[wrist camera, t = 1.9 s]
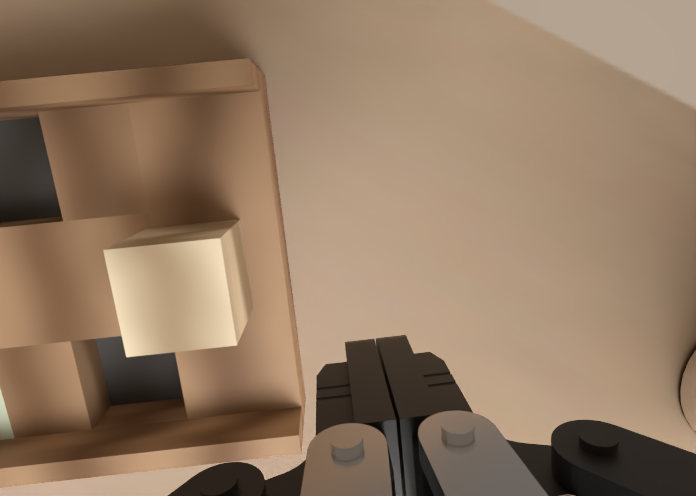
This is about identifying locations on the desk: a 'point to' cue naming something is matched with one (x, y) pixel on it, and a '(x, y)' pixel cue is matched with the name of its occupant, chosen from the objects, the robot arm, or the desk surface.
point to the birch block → (180, 287)
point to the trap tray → (94, 285)
